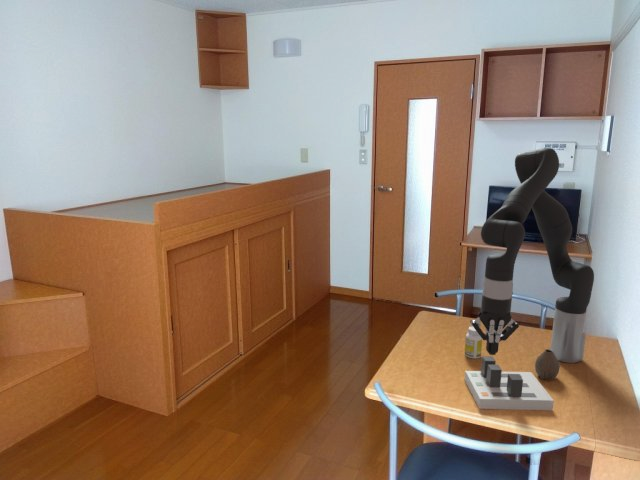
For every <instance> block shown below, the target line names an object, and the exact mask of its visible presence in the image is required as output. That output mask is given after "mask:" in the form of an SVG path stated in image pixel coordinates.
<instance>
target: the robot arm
mask: <svg viewBox="0 0 640 480" xmlns="http://www.w3.org/2000/svg"><path fill="white" fill-rule="evenodd" d="M559 159H560V158H559V156H558V153H557V151H556V150H555V149H553V148H551V147H546V148H544V147H542V148H539V149H532V150H527V151H522V152H520V153H518V154H516V155H515V158H514V168H515V172H516V175H517V178H518V180H519V182H520V184H519V185H518V186H516V187H515V188H514V189H512V190H511V191H510V192H509V193H508V195H507V196H506V198H505V199H504V202H502V203H503V204H502V205H501V207H500V208H499V209H497V210H496V211H495V212H494V213H493V214H491V215H490V216H489V217H488V218H487V219H486V220H485V222H484V223H483V225H482V227H481V231H480V237H481V240H482V242H483V243H484V244H485V245H488V246H494V247H499V248H504V249H506V250H505V252H504V253H494V254H490V255H488V256H487V257H486V260H485V269H484V271H485V272H484V279H483V283H482V291H481V293H482V295H481V305H480V311H479V314H478V316H477V317H476V318H475V319H470V321H469V322H470V324H471V327H472V326H473V327H474V328H475V330H476V331H477V332H478V334H479V335H480V336H481V338H482V341H486V344H485V345H486V346H485V350H486V351H487V352H486V353H488V355H489V356H496V354H497V353H499V343H500V342H501V341H503V342H504V341H507V339H509V338H510V337H511V336H512V334H513V333H515V332H516V330H517V329H518V328H519V327H520V326H519V324H518V322H516V320H514V319H512V316H511V309H512V302H513V301H512V299H513V294H514V291H513V290H514V281H513V280H514V279H513V278H514V272H515V271H514V270H515V263H516V260H517V257H518V254H519V251H520V249H521V247H522V245H523V242H524V239H525V237H526V230H525V227H524V225H523V224H524V223H525V221H526V220H527V219H528V218H527V217H528V216H529V213H530V212H531V210H532V212H533V214H534V218H535V221H536V225H537V228H538V230H539V234H540V235H541V238H542V241H543V244H544V247H545V250H546V252H547V257H548V260H549V265H550V269H551V274H552V278H553V280H554V282H555V283H556V285H558V286H559V287H561V288H564V289H568V290H570V291H569V294H568V296H561V297H557V299H556V301H555V306H554V307H555V308H554V314H553V325H552V331H551V339H550V340H551V341H550V346H549V347H550V348H549V350H552V351H553V353H554V355H555V356H556V358H557V359H558V361H559V362H561V363H562V362H563V363H569V364H570V363H571V364H572V363H573V364H574V363H575V364H576V363H578V362H583V359H584V353H585V344H586V337H587V334H586V333H585V332H584V330H585V323H586V316H587V309H588V306H589V304H590V301H591V297H592V291H593V287H594V282H595V272H594V269H593V268H592V267H591V266H590V265H588V264H585V263H581V262H578V261H574V260H572V259H571V257H570V254H569V252H568V247H567V246H568V244H569V242H570V240H571V238H572V235H573V225H572V222H571V219H570V216H569V213H568V211H567V209H566V208H565V206H564V205H563V204H561V203H560V202H559V201H558V200H557V199H555V197H553V195H550V194H549V193H548V192H547V191H546V189H547V188H548V186H549V185H550V184H551V183H552V181H553V180H554V179H555V178H556V176H557V175H558V172H559V170H560V169H559V168H560V160H559ZM482 325H483V327H484V328H485V333H484V332H483V330H482V329H481V326H482Z"/></svg>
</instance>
